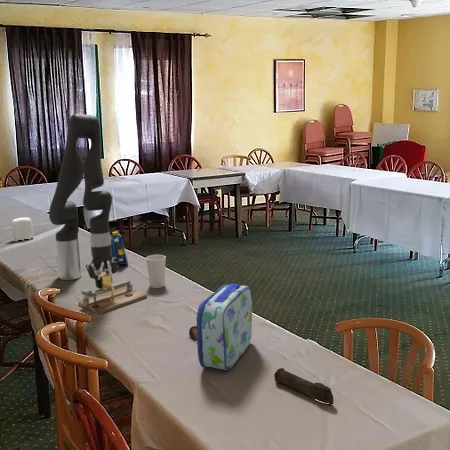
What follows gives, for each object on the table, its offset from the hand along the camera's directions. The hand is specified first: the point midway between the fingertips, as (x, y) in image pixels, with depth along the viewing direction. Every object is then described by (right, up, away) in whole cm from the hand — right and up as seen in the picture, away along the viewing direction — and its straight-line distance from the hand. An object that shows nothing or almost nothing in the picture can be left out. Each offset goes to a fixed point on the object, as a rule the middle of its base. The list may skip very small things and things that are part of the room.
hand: (104, 286), depth 228 cm
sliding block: (+1, -4, 0) cm, 4 cm away
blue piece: (-7, +5, +48) cm, 49 cm away
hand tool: (+68, -21, -70) cm, 99 cm away
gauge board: (+3, -6, +1) cm, 7 cm away
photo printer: (-64, +15, +96) cm, 116 cm away
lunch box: (+47, -16, -47) cm, 68 cm away
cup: (+18, -2, +17) cm, 25 cm away
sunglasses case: (+44, -13, -33) cm, 57 cm away
